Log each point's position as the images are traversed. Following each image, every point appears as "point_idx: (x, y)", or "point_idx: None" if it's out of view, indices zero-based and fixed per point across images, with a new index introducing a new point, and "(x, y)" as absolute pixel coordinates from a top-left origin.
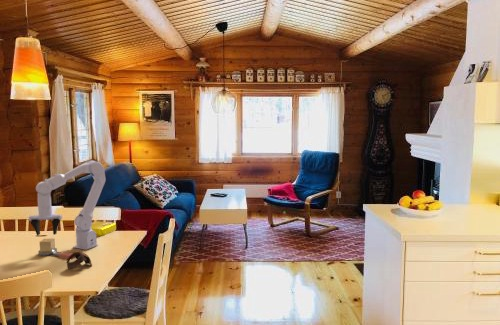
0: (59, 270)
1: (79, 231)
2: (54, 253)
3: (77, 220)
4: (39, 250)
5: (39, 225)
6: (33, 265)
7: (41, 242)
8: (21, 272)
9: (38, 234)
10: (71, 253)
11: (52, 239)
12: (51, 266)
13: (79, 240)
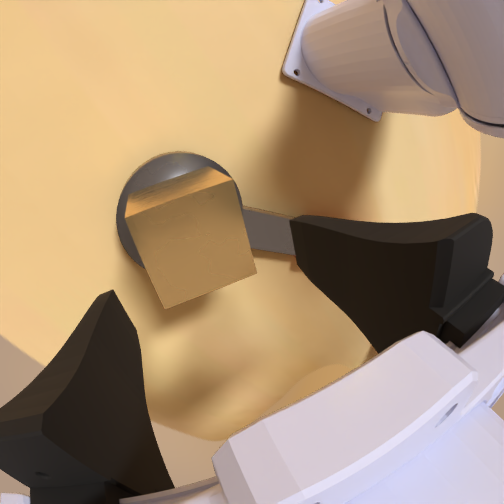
0: (356, 355)
1: (428, 91)
2: (261, 247)
3: (494, 52)
4: (122, 238)
5: (88, 355)
6: (236, 369)
7: (179, 299)
8: (241, 414)
9: (133, 329)
10: None
11: (235, 215)
12: (316, 347)
13: (370, 91)
